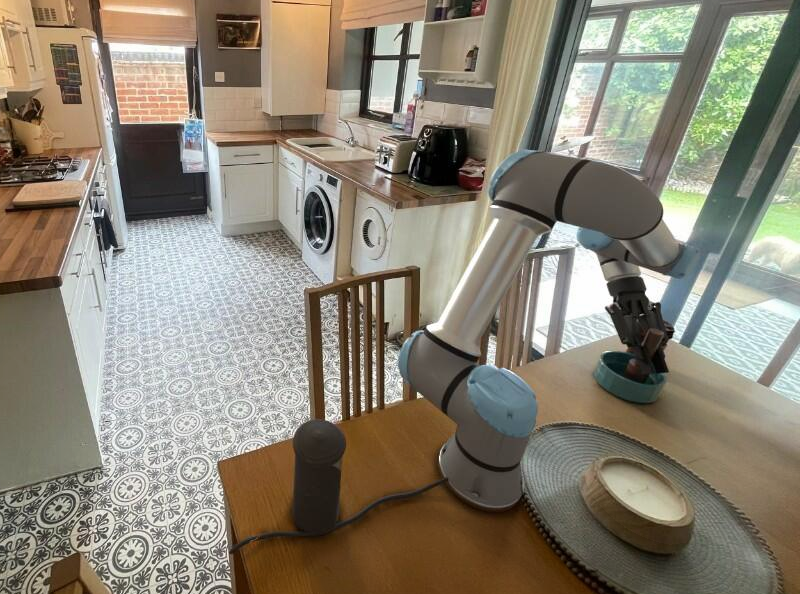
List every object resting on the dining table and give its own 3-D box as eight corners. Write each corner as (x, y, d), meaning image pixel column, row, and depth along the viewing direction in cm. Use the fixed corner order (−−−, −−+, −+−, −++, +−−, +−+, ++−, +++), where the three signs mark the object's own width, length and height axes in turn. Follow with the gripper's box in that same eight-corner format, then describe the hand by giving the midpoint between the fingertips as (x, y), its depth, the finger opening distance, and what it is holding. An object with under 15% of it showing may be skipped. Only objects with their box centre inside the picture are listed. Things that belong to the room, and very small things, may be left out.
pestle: (637, 384, 101) (659, 338, 95) (619, 372, 104) (640, 327, 98) (650, 381, 102) (673, 335, 96) (633, 369, 105) (654, 324, 99)
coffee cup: (665, 375, 108) (686, 335, 103) (630, 370, 110) (648, 330, 104) (646, 354, 116) (665, 316, 110) (614, 350, 117) (630, 312, 112)
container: (349, 521, 73) (358, 442, 65) (308, 549, 69) (311, 469, 61) (321, 483, 80) (325, 407, 72) (281, 506, 76) (281, 429, 67)
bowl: (629, 410, 97) (638, 391, 95) (580, 373, 109) (587, 355, 106) (670, 399, 100) (680, 380, 98) (618, 364, 112) (626, 347, 109)
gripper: (639, 282, 109) (671, 372, 102) (583, 284, 108) (612, 376, 100) (665, 273, 102) (702, 370, 95) (606, 276, 101) (638, 374, 93)
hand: (655, 373), depth 98 cm, fingers closed on pestle, 3 cm apart
